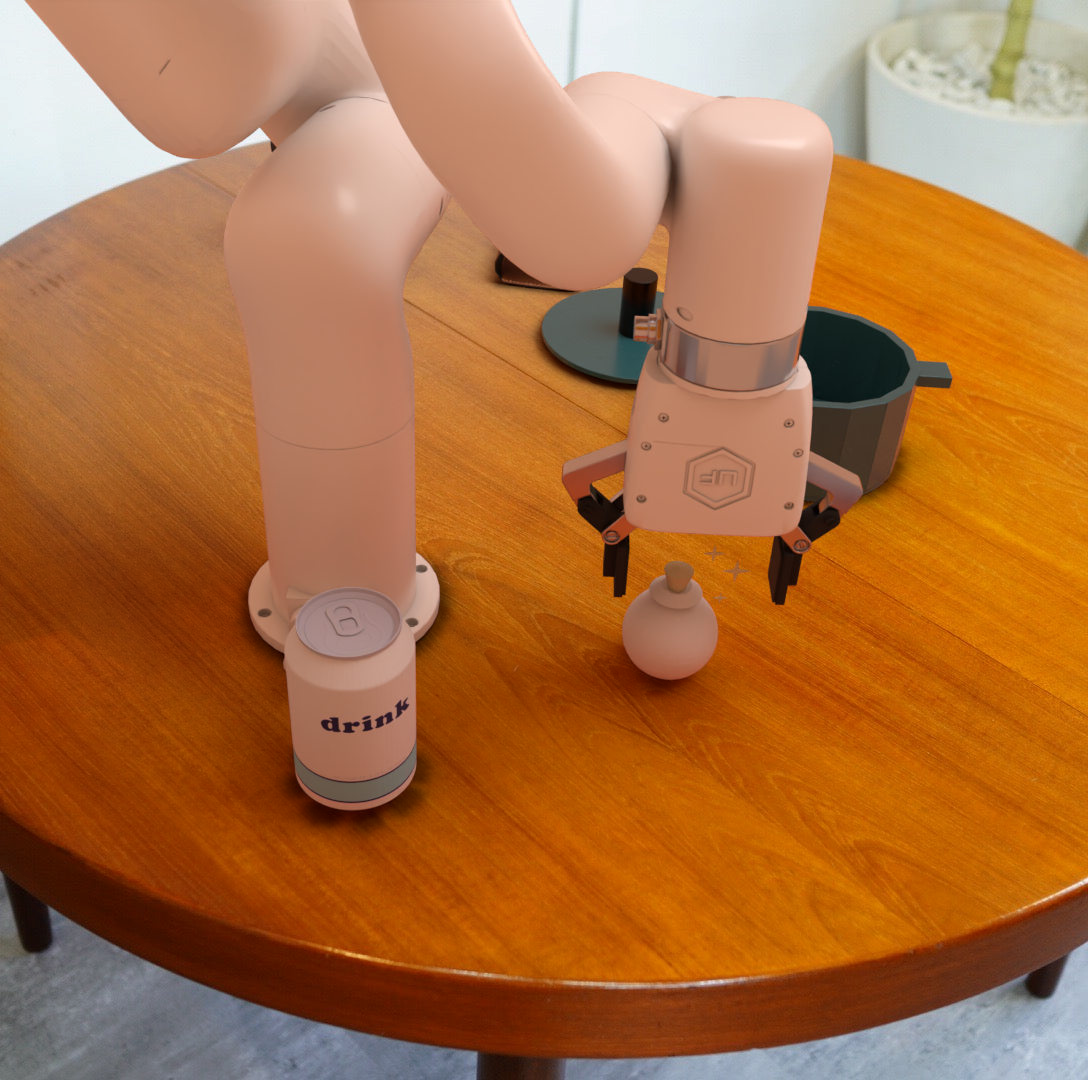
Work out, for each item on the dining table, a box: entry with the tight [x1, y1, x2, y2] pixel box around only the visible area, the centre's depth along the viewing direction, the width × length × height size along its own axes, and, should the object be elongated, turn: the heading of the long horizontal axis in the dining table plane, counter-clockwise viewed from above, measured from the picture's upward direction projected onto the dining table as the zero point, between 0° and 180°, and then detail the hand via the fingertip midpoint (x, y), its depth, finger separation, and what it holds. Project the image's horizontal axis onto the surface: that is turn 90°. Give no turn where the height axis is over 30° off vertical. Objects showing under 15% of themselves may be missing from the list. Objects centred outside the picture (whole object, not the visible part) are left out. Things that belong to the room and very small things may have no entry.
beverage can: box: [283, 587, 417, 811], centre depth 73 cm, size 7×7×12 cm
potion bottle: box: [621, 544, 751, 681], centre depth 82 cm, size 6×7×10 cm
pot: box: [800, 305, 954, 503], centre depth 104 cm, size 16×21×8 cm
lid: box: [541, 267, 664, 385], centre depth 116 cm, size 17×17×7 cm
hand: (697, 586), depth 81 cm, fingers open, 9 cm apart
